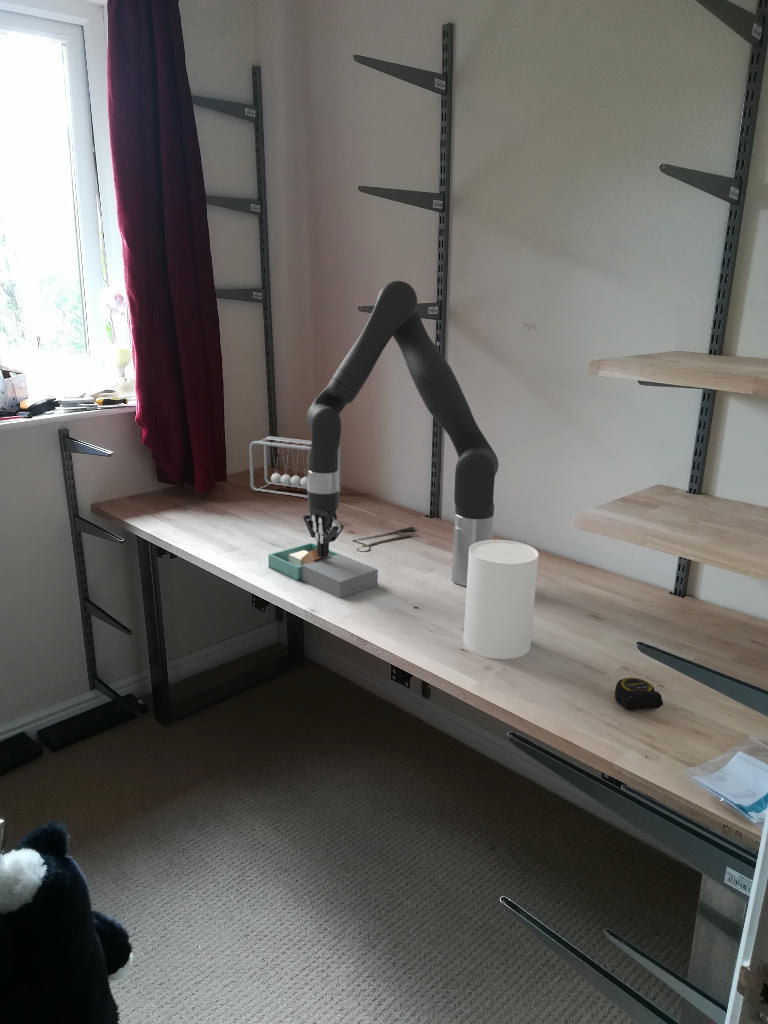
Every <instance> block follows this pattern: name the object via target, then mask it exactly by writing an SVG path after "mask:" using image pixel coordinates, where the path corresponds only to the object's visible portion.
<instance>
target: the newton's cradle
mask: <svg viewBox="0 0 768 1024" xmlns="http://www.w3.org/2000/svg"><path fill="white" fill-rule="evenodd" d="M269 440H270V441H274V442H269ZM280 442H284V443H280ZM287 443H288V444H287ZM290 443H294V444H290ZM297 444H298V445H297ZM300 444H303V445H300ZM304 444H305V445H304ZM255 445H259V446H263V456H264V458H263V459H264V461H263V465H264V466H263V467H264V471H263V472H264V481H265V483H266V485H264V486H261V487H259V488H256V486H255V477H254V476H255V475H254V473H255V471H254V446H255ZM307 445H308V446H307ZM310 445H312V440H307V439H299V438H298V439H297V438H289V437H280V436H279V437H278V436H271V435H270V436H266V437H265V438H263V439H261V440H253V441H252V442H251V443H250V444H249V472H250V473H249V474H250V478H249V479H250V487H251V490H253V491H254V490H255V491H254V492H256V491H262V492H270V493H276V494H275V495H277V494H285V495H292V496H299V497H304V498H303V499H305V498H307V494H300V493H291V492H284V491H277V490H270V489H265V488H266V487H268V486H267V485H269V484H275V485H283V486H290V487H297V488H303V489H307V478H308V468H306V470H305V468H303V471H304V474H305V475H304V476H303V477H302V478H301V477H300V476H298V475H297V471H298V468H296V469H295V466H293V470H294V473H295V474H294V475H293V476H292V477H291V476H290V474H287V472H288V468H286V466H285V464H283V467H284V470H285V473H284V474H283V475H281V474H280V473H278V471H277V470H274V473H272V475H271V476H270V480H269V475H268V474H269V471H268V470H269V469H268V447H271V449H272V451H274V448H273V447H275V448H278V449H277V453H279V452H280V451H279V448H281V450H282V453H284V451H283V448H284V449H287V451H289V449H291V452H292V455H294V452H293V450H299V451H300V450H301V452H302V453H301V454H302V455H304V452H303V451H307V452H309V449H310V448H311V447H312V446H310ZM342 451H343V450H342V447H341V446H340V445H339V448H338V476H339V494H340V492H341V491H342V455H343V454H342ZM272 456H273V457H272V458H273V459H275V456H274V453H272ZM298 457H299V455H297V459H296V463H298V462H299V461H298V459H299V458H298ZM288 459H289V456H287V459H286V463H288ZM304 459H305V458H302V460H303V461H302V463H303V464H305V460H304ZM282 460H283V462H285V459H284V456H282ZM278 461H279V458H277V461H276V462H277V463H275V461H273V464H274V465H273V466H274V467H276V466H278V465H279V464H278ZM292 462H293V464H295V462H294V457H292ZM306 464H308V456H307V459H306ZM267 483H268V484H267ZM265 486H266V487H265ZM269 486H270V485H269ZM263 487H264V488H263ZM261 488H262V489H261ZM262 492H261V493H262ZM270 493H269V494H270Z"/></svg>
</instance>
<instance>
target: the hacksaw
mask: <svg viewBox="0 0 768 1024" xmlns="http://www.w3.org/2000/svg"><path fill="white" fill-rule="evenodd" d="M415 530H417V529H416V528H415V527H414V526H408V527H405V528H401V529H397V530H394V531H389V532H386V533H381V534H377V535H371V536H367V537H362V538H357V539H351V541H352V543H356V544H360V545H362V546H361V547H357V548H356V551H357V552H360V553H361V552H362V553H367V552H371V547H375V546H378V545H379V544H383V543H387V542H392V541H396V540H401V539H405V538H409V537H412V535H415V536H414V538H416V537H418V536H419V534H418V533H409V532H415ZM393 534H395V535H398V536H394V537H390V538H387V539H383V540H382V539H381V540H379V541H378V540H377V541H375V542H371V543H368V544H367V543H364V542H361V541H365V540H370V539H371V540H372V539H374V538H380V537H383V536H389V535H393ZM367 547H368V550H360V549H361V548H367Z"/></svg>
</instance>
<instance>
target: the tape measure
mask: <svg viewBox="0 0 768 1024" xmlns="http://www.w3.org/2000/svg"><path fill="white" fill-rule="evenodd" d="M662 697H663V696H662V694H661V693H660V692H658V691H656V689H655V687H654V686H653V685H652V684H651V683H650V682H648V681H647V680H644V679H641V678H638V677H625V678H622V679H619V680H618V681H617V683H616V685H615V690H614V699H615V701H616V702H617V704H618V705H620V706H622V707H623V709H624V710H627V711H639V710H640V711H642V710H652V709H654V710H655V709H656V710H657V709H659V708H661V707H663V706H664V701H663V698H662Z"/></svg>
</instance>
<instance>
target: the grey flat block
mask: <svg viewBox="0 0 768 1024" xmlns="http://www.w3.org/2000/svg"><path fill="white" fill-rule="evenodd" d="M378 572H379V570H378V568H375V567H373V566H370V565H368V564H366V563H364V562H361V561H358V560H356V559H353V558H351V557H348V556H346V555H343V554H342V553H341V554H340V553H339V554H338V555H334V556H331V557H328V558H324V559H321V560H318V561H314V562H311V563H308V564H304V565H302V580H301V581H302V582H303V583H306V584H309V585H311V586H313V587H315V588H318V589H319V590H321V591H324V592H326V593H328V594H329V595H333V596H334V597H337V598H339V599H341V598H344V597H347V596H350V595H353V594H355V593H358V592H362V591H363V590H367V589H370V588H373V587H376V586H378V583H379V582H378V579H379V578H378V576H379V573H378Z"/></svg>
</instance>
